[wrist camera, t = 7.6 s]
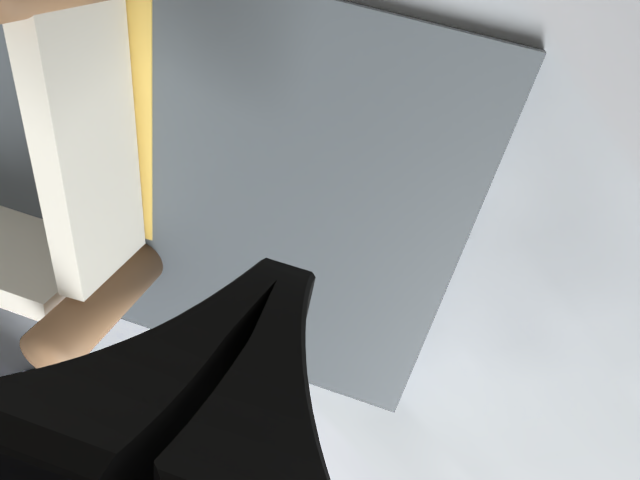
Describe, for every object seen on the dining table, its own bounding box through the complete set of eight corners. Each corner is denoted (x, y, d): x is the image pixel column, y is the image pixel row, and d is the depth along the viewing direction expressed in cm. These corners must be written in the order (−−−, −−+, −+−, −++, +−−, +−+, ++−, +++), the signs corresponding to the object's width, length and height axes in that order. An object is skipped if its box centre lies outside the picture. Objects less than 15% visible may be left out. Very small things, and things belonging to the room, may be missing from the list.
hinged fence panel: (152, 245, 21) (76, 318, 17) (117, 236, 21) (35, 306, 17) (130, -54, 15) (6, -47, 11) (82, -62, 15) (-55, -58, 11)
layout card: (395, 405, 23) (394, 413, 23) (-57, 251, 26) (-65, 256, 26) (545, 50, 14) (546, 53, 14) (-165, -127, 17) (-179, -128, 17)
